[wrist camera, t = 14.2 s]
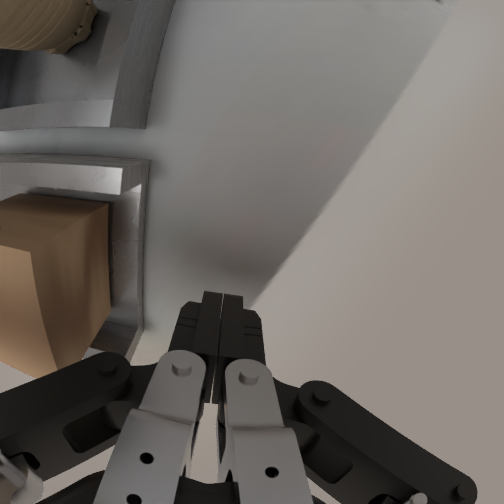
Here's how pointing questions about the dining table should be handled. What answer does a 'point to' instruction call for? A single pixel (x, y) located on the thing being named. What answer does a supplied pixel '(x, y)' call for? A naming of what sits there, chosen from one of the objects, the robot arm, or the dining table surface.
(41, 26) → the handle
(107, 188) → the bay
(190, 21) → the dining table surface
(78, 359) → the tan cardboard box
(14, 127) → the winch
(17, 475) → the robot arm
